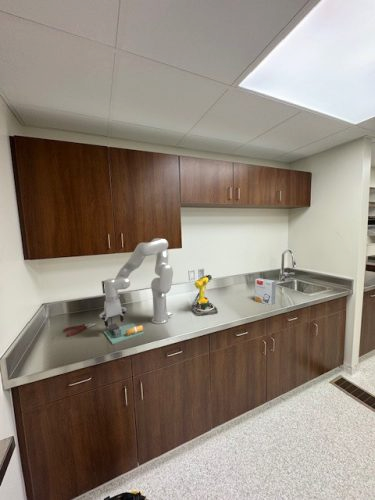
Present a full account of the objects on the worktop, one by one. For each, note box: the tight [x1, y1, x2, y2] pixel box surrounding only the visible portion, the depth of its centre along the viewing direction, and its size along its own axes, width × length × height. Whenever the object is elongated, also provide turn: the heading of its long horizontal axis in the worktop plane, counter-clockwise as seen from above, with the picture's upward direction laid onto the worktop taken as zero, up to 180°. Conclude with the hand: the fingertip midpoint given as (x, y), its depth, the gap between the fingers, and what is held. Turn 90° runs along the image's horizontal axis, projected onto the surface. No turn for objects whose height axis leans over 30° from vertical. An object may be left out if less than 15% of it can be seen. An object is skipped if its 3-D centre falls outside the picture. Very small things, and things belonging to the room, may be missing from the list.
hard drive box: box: [254, 277, 276, 306], centre depth 184 cm, size 16×8×20 cm, turn 42°
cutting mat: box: [103, 322, 145, 345], centre depth 136 cm, size 20×19×5 cm
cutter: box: [108, 323, 122, 338], centre depth 135 cm, size 4×13×4 cm, turn 36°
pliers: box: [62, 322, 98, 337], centre depth 145 cm, size 12×20×3 cm, turn 132°
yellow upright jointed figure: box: [191, 274, 219, 316], centre depth 169 cm, size 18×19×28 cm
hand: (114, 323), depth 137 cm, fingers open, 9 cm apart
